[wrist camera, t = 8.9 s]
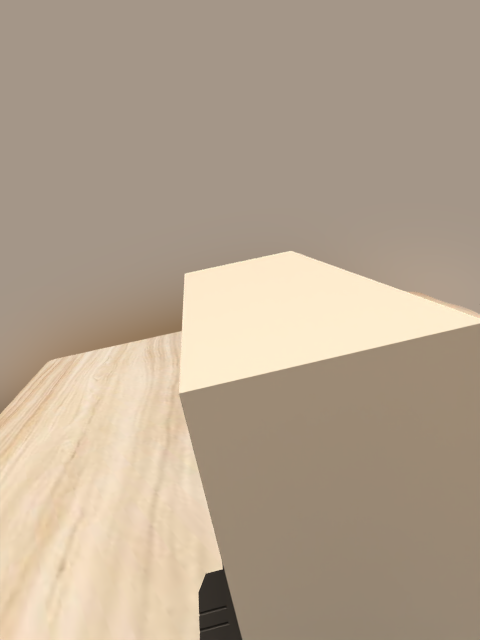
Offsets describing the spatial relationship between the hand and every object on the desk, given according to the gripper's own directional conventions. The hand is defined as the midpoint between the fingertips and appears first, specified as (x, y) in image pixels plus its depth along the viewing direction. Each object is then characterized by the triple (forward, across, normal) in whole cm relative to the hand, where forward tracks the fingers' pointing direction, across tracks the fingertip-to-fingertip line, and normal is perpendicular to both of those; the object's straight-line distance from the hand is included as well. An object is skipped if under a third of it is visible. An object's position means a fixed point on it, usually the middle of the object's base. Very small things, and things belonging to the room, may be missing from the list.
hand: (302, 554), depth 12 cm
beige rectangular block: (-2, 0, +10) cm, 10 cm away
